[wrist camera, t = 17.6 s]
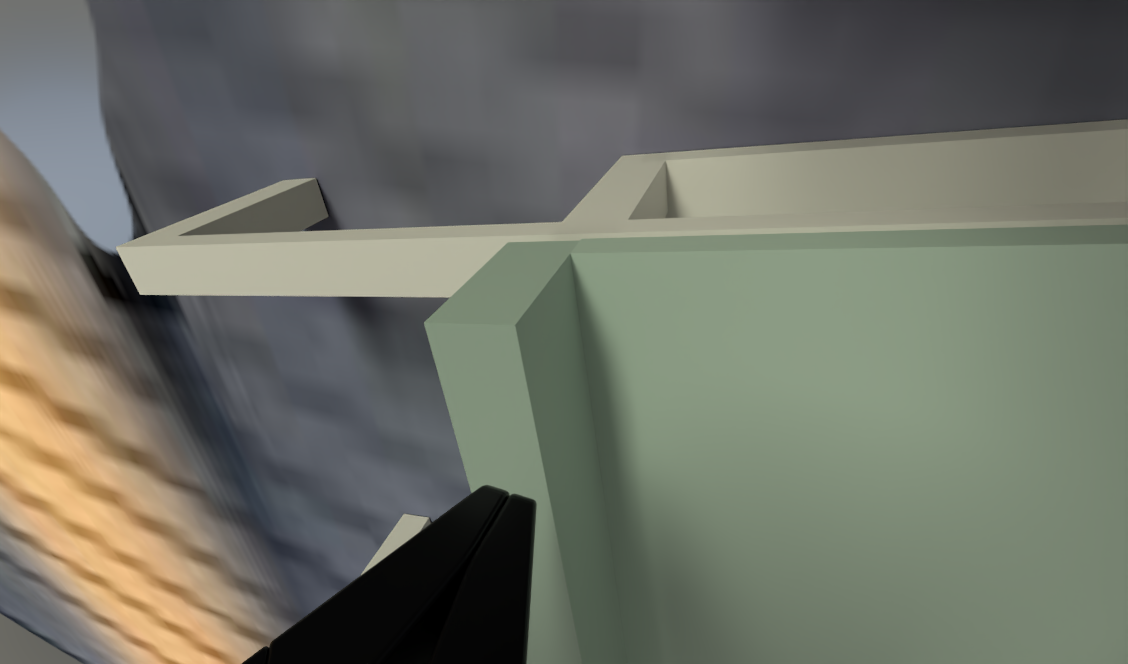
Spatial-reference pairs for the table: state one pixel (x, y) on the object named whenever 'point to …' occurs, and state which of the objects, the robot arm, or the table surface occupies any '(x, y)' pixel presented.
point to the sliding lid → (807, 442)
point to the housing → (657, 214)
